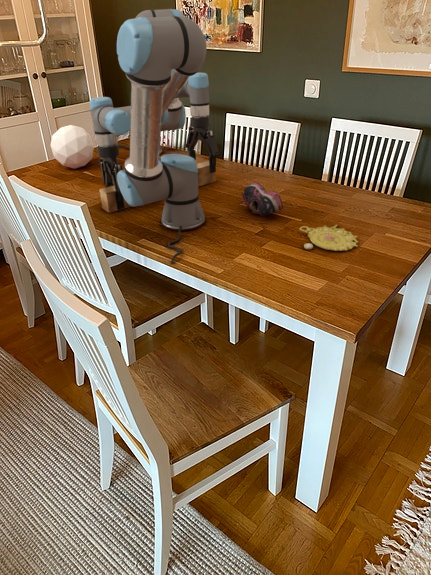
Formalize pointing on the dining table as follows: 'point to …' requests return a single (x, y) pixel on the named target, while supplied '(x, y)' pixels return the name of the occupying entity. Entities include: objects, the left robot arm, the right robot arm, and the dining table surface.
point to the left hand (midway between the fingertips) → (202, 169)
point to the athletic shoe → (261, 200)
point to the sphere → (72, 146)
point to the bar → (111, 206)
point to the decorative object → (330, 238)
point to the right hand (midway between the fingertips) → (117, 206)
